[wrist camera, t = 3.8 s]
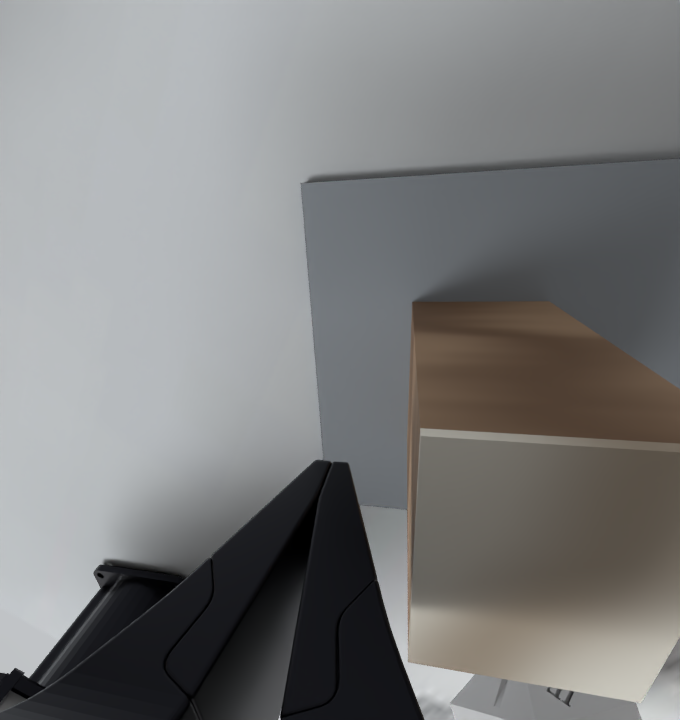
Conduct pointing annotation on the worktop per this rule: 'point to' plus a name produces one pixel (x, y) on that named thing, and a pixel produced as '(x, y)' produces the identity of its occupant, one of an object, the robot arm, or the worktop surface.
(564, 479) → the wooden block
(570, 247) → the rubber mat
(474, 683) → the die
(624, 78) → the worktop surface
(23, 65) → the worktop surface
